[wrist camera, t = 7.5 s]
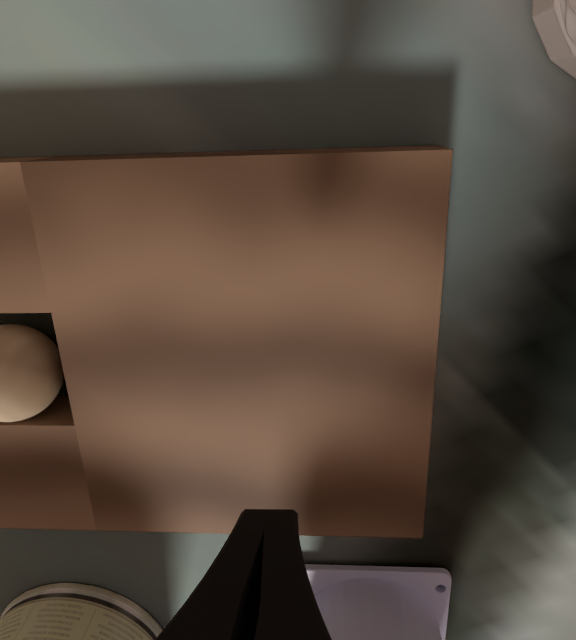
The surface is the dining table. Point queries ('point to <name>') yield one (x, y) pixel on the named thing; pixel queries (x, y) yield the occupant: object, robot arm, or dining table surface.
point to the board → (228, 337)
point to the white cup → (557, 31)
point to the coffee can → (75, 615)
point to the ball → (27, 372)
